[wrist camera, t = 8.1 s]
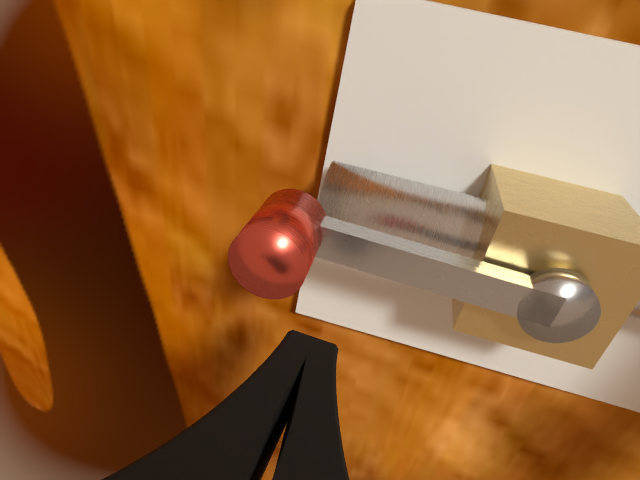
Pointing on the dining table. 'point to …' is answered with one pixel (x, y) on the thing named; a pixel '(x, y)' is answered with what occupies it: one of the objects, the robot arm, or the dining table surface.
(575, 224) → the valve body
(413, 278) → the valve lever
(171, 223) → the dining table surface
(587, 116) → the valve board
